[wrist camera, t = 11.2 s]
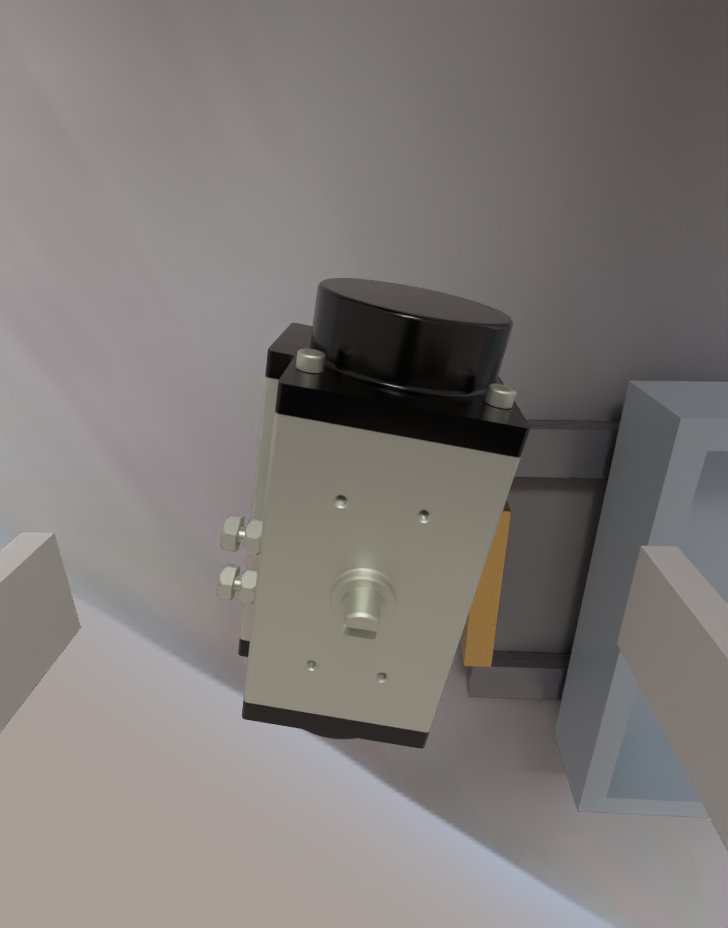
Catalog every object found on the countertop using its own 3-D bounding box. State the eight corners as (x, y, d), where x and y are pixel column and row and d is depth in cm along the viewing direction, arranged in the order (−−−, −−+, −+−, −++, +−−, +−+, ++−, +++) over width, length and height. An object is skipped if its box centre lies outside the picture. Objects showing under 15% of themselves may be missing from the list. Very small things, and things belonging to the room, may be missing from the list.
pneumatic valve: (473, 278, 19) (578, 368, 8) (405, 550, 24) (414, 829, 13) (318, 248, 19) (215, 301, 8) (283, 528, 24) (189, 793, 13)
